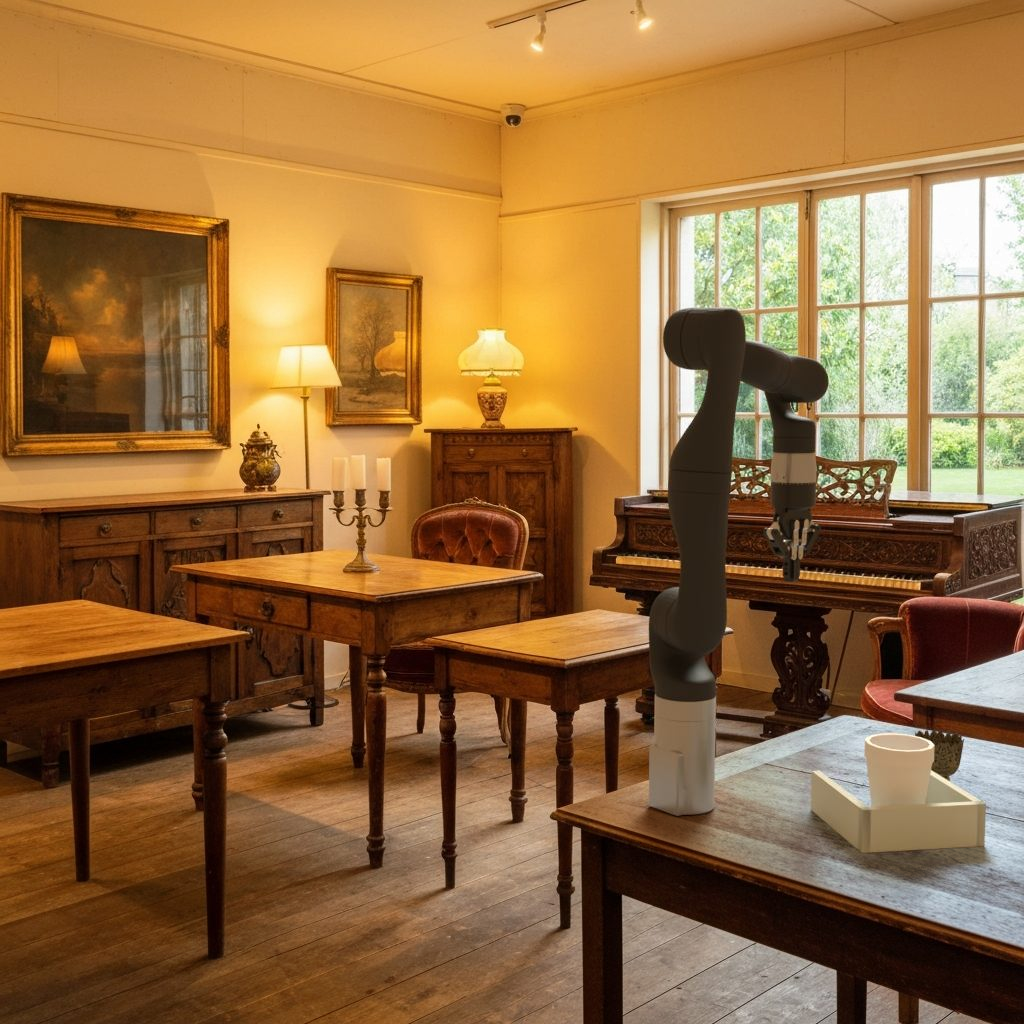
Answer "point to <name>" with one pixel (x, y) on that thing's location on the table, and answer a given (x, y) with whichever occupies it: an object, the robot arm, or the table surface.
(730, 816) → the table surface
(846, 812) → the walled box
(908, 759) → the foam cup
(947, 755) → the cup
